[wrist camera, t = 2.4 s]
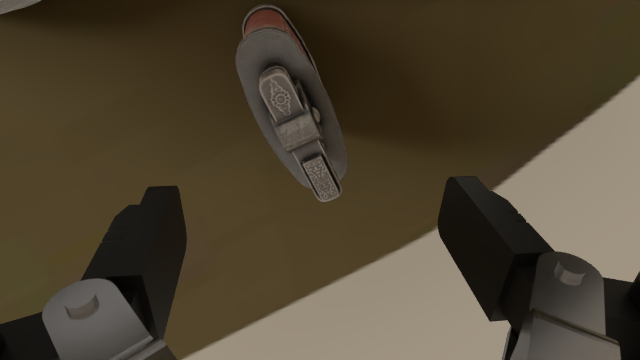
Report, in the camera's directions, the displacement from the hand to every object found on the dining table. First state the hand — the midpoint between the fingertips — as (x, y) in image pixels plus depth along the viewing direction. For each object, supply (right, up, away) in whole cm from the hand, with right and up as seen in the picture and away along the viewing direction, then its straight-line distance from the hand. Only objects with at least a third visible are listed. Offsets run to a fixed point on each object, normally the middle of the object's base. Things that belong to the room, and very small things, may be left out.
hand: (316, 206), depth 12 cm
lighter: (-2, +7, +12) cm, 15 cm away
